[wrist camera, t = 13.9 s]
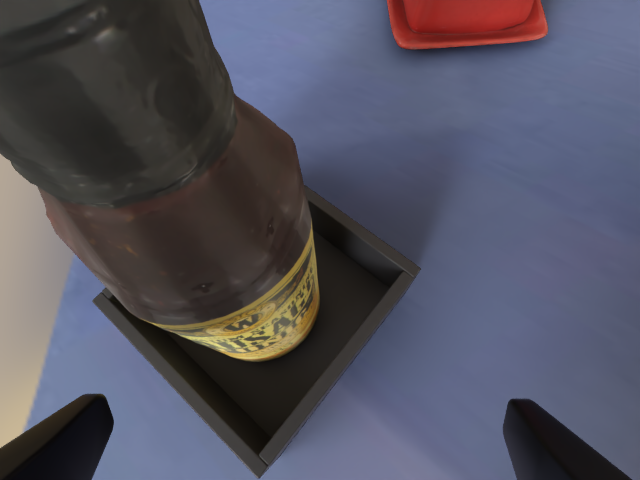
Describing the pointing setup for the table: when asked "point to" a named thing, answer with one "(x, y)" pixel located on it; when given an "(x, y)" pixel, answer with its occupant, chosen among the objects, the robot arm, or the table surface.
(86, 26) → the sauce bottle
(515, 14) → the butter dish
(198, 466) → the table surface
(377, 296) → the bin
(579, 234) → the table surface
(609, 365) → the table surface
